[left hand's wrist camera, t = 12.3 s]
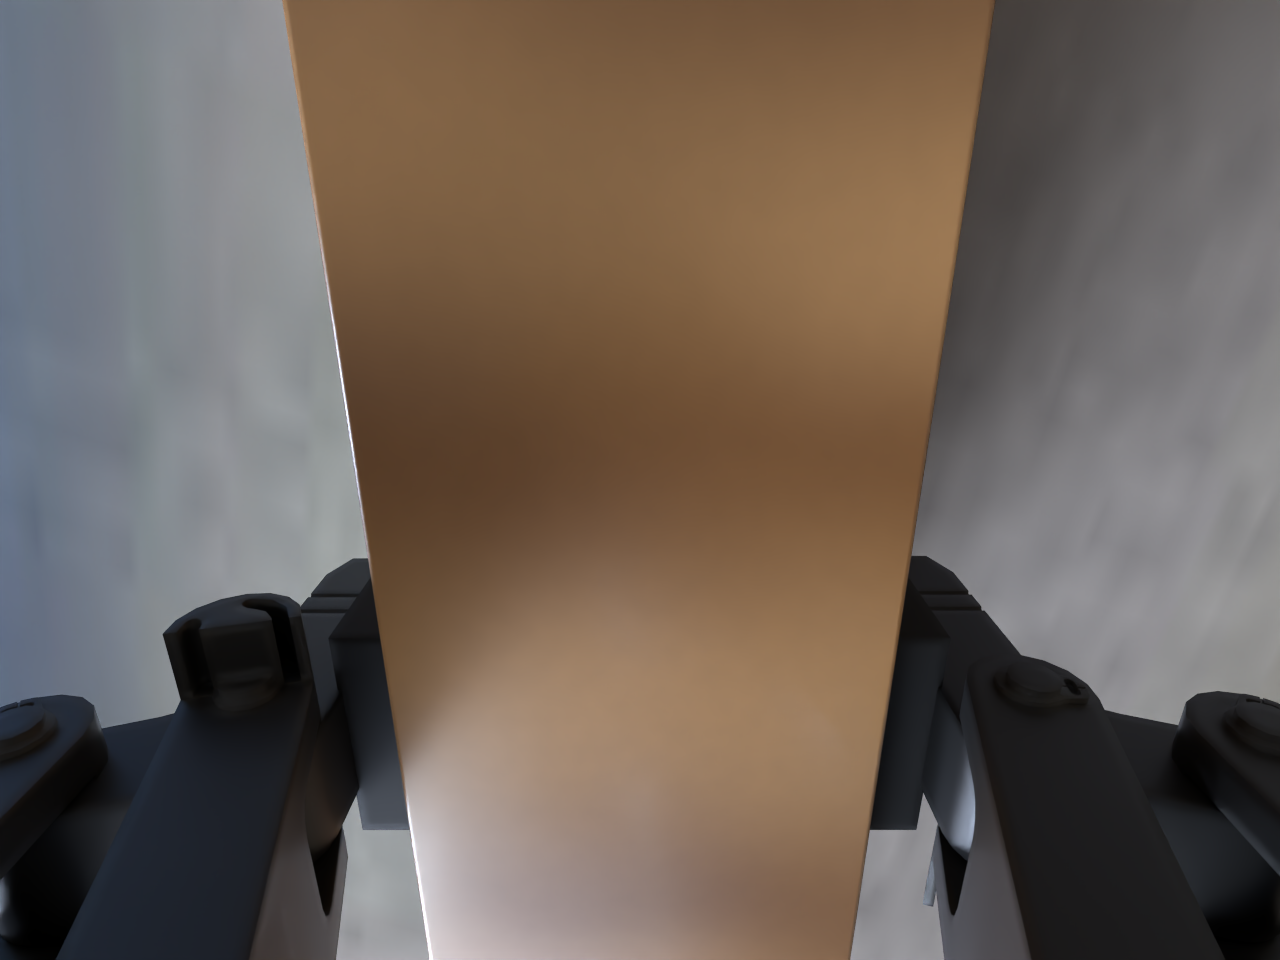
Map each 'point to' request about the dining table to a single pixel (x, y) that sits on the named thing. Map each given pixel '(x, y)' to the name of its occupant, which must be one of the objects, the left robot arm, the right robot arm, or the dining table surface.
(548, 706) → the beam
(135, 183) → the dining table surface
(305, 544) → the dining table surface
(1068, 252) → the dining table surface
